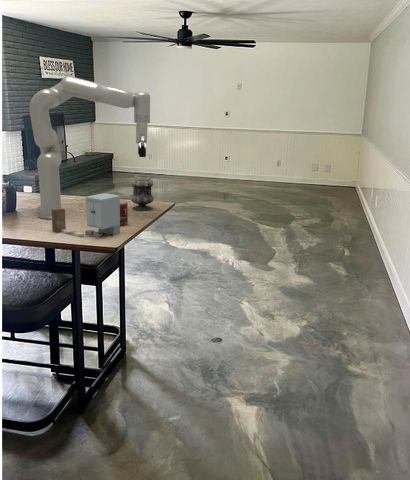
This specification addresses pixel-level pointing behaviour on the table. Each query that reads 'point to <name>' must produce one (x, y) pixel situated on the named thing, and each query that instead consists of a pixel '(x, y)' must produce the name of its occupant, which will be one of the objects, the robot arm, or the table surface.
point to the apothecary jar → (142, 192)
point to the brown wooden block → (61, 222)
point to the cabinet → (104, 212)
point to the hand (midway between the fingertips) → (141, 155)
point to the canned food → (123, 213)
